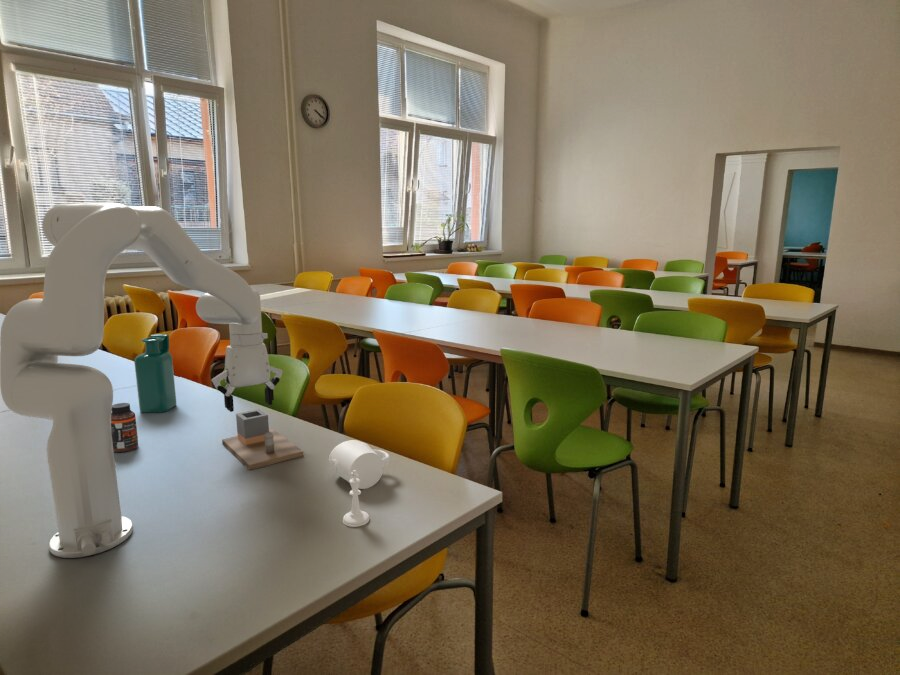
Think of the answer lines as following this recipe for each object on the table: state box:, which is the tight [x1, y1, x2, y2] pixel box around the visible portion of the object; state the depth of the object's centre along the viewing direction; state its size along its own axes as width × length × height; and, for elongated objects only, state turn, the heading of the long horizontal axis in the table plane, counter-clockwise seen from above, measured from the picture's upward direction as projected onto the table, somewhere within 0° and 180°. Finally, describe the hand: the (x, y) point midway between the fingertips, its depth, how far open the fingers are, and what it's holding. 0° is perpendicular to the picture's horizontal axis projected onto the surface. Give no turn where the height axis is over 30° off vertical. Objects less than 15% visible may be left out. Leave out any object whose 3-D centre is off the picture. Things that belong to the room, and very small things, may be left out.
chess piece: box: [342, 470, 370, 528], centre depth 107 cm, size 5×5×10 cm
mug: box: [328, 439, 391, 490], centre depth 125 cm, size 12×9×8 cm
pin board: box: [221, 428, 304, 471], centre depth 141 cm, size 20×13×6 cm, turn 38°
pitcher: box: [133, 333, 177, 413], centre depth 172 cm, size 10×8×22 cm
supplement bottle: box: [111, 402, 139, 453], centre depth 142 cm, size 6×6×11 cm
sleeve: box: [235, 408, 270, 445], centre depth 145 cm, size 6×6×6 cm
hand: (249, 407), depth 144 cm, fingers open, 9 cm apart
